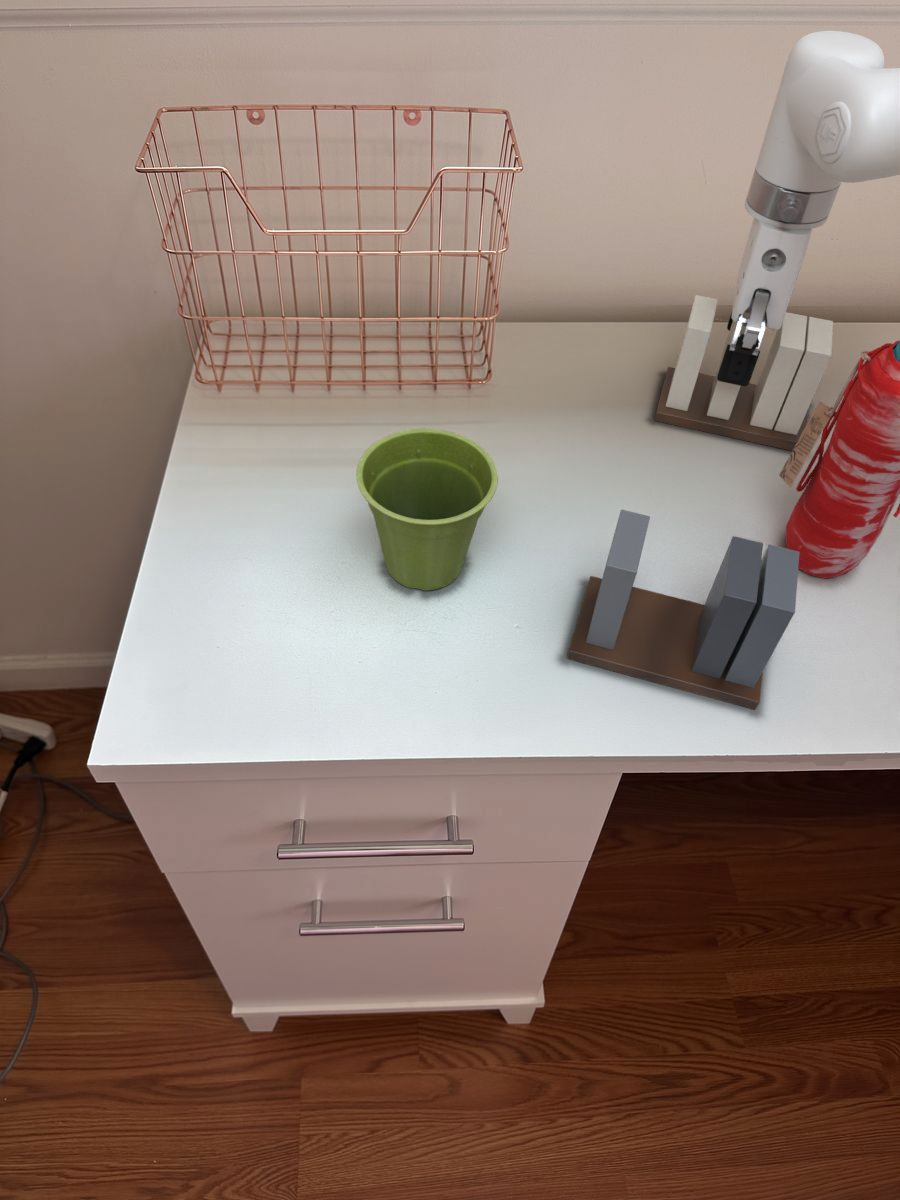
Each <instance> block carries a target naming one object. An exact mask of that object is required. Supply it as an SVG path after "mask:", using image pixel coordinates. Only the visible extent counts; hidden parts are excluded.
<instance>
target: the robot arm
mask: <svg viewBox="0 0 900 1200" xmlns="http://www.w3.org/2000/svg"><path fill="white" fill-rule="evenodd" d="M898 175H899V176H900V66H899V67H889V68H885V54H884V51H883V50H882V48H881V47H880V45H879V44H878V43H876V42H875V41H873V40H871V39H870V38H868V37H866V36H863V35H860V34H858V33H853V32H848V31H841V30H820V31H815V32H811V33H807V34H806V35H804V36H802V37H800V39H799V40H797V41H796V43H794V45H793V47H792V48H791V50H790V52H789V54H788V56H787V60H786V63H785V66H784V70H783V74H782V77H781V80H780V83H779V87H778V90H777V93H776V97H775V100H774V102H773V107H772V110H771V114H770V117H769V120H768V124H767V126H766V130H765V134H764V137H763V140H762V144H761V147H760V151H759V154H758V158H757V160H756V164H755V167H754V171H753V175H752V177H751V181H750V184H749V188H748V191H747V195H746V196H745V201H744V208H745V210H746V211H747V213H748V215H750V216H751V217H752V218H753V220H752V222H751V226H750V230H749V233H748V236H747V241H746V243H745V246H744V249H743V254H742V257H741V262H740V266H739V270H738V273H737V279H736V285H735V290H734V296H733V305H732V309H731V311H730V312H731V313H730V316H729V320H728V322H727V326H726V329H727V331H730V328H731V325H732V322H733V321H734V322H735V323H736V327H735V330H734V334H733V337H732V341H731V345H729V344H728V345H727V348H726V351H725V354H724V357H723V360H722V363H721V366H720V369H719V373H718V376H717V380H718V381H720V382H725V383H730V384H735V385H740V386H748V385H749V383H750V382H751V379H752V376H753V373H754V371H755V368H756V366H757V363H758V360H759V357H760V354H761V350H760V348H761V346H762V342H763V338H764V335H765V332H766V328H767V329H769V330H772V331H773V332H777V330H778V329H780V328H781V325H782V322H783V319H784V316H785V313H786V312H787V309H788V306H789V303H790V300H791V297H792V295H793V292H794V290H795V286H796V283H797V280H798V277H799V274H800V271H801V268H802V265H803V262H804V259H805V256H806V252H807V249H808V247H809V242H810V239H811V235H812V232H813V229H817V228H819V227H821V226H824V224H826V222H827V220H828V218H829V217H830V213H831V211H832V208H833V205H834V203H835V200H836V197H837V194H838V192H839V189H840V187H841V184H842V183H846V184H848V183H849V184H850V183H854V184H855V183H862V182H863V183H864V182H868V181H873V180H879V179H886V178H891V177H895V176H898ZM744 312H745V313H750V315H749V318H744V317H743V314H744ZM742 326H746V330H745V333H744V334H741V335H740V331H741V328H742ZM739 335H740V337H739Z"/></svg>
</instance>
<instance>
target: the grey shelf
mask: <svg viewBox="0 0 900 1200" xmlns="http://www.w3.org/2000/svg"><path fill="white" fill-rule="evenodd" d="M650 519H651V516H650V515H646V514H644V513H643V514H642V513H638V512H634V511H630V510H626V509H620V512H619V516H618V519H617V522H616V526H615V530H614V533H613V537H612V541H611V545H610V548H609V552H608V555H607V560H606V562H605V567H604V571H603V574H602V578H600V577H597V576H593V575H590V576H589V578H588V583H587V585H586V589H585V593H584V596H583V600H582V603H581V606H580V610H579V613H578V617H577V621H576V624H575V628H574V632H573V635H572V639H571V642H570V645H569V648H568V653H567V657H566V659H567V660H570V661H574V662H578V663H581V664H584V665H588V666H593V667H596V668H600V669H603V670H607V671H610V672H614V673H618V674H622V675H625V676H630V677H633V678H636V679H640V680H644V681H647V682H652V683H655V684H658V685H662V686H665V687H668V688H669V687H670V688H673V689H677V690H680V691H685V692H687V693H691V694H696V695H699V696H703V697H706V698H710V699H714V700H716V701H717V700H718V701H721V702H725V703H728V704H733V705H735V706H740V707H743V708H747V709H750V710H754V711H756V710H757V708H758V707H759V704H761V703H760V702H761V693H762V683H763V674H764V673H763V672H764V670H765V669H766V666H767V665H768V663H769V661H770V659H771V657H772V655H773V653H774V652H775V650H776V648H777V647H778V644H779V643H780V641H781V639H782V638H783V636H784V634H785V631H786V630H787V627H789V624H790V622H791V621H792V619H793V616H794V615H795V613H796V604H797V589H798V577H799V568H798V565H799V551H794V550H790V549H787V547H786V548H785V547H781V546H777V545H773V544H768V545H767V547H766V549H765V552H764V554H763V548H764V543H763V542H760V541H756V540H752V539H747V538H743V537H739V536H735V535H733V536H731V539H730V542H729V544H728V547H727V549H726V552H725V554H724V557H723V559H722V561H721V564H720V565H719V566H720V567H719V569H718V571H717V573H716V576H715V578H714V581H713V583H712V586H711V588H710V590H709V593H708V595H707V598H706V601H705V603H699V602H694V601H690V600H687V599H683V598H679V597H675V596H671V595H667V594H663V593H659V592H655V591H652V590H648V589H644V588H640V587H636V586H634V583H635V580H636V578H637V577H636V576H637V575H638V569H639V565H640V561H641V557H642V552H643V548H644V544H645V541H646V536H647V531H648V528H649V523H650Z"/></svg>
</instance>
